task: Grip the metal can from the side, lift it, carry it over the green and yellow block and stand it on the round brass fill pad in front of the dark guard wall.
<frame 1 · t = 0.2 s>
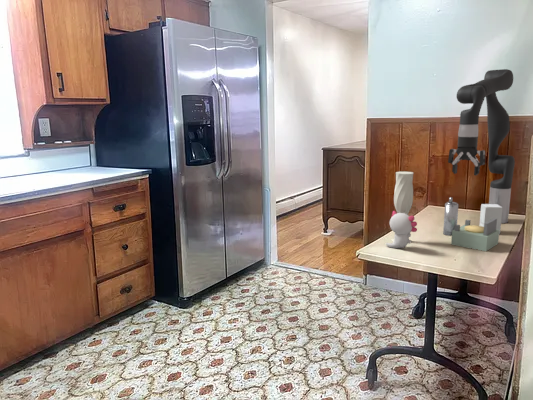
hand: (465, 174, 186), 29 cm above the table, tool pointing down, fingers open, 8 cm apart
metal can: (449, 234, 202), on the table
green and yellow block: (474, 244, 187), on the table
vase: (401, 241, 193), on the table
toy: (400, 248, 183), on the table
supplement box: (489, 232, 204), on the table
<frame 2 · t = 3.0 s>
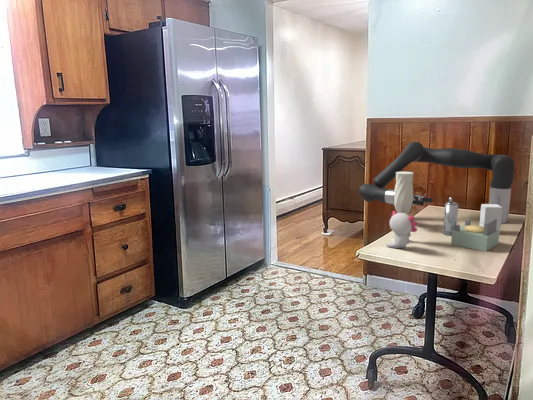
hand: (427, 201, 207), 13 cm above the table, tool horizontal, fingers open, 8 cm apart
nothing on the table moved.
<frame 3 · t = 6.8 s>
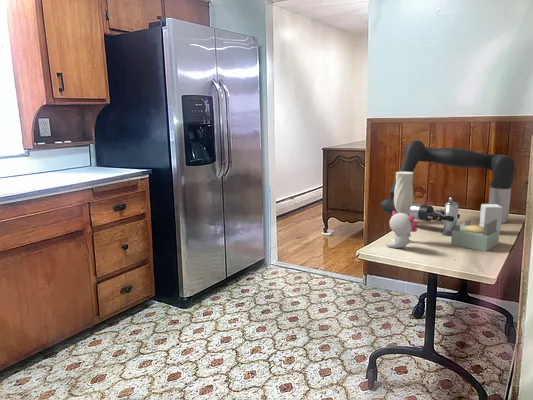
hand: (456, 217, 199), 8 cm above the table, tool horizontal, fingers closed on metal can, 5 cm apart
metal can: (449, 234, 202), on the table, touching gripper
everything else where it was.
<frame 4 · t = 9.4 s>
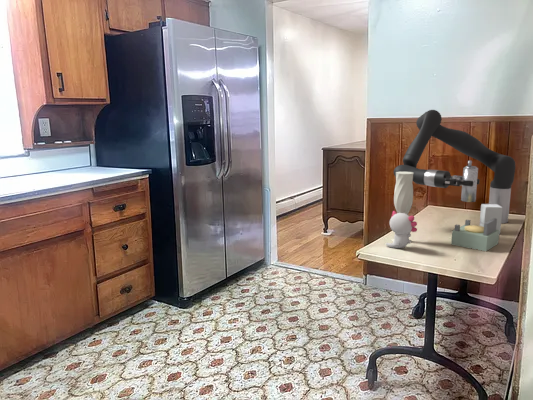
hand: (475, 182, 184), 26 cm above the table, tool horizontal, fingers closed on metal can, 5 cm apart
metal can: (468, 200, 188), point 18 cm above the table, touching gripper
everything else where it was.
when the fingers open (16 cm above the table, at t = 12.1 s): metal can stays where it is, resting on green and yellow block.
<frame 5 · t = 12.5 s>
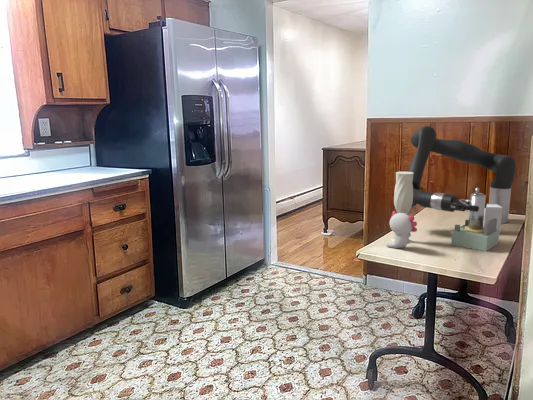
hand: (482, 207, 182), 16 cm above the table, tool horizontal, fingers open, 8 cm apart
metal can: (475, 227, 185), point 7 cm above the table, touching green and yellow block
everything else where it was.
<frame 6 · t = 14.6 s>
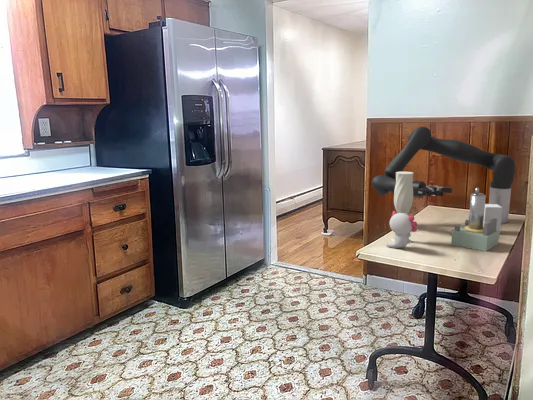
hand: (447, 192, 193), 21 cm above the table, tool horizontal, fingers open, 8 cm apart
nothing on the table moved.
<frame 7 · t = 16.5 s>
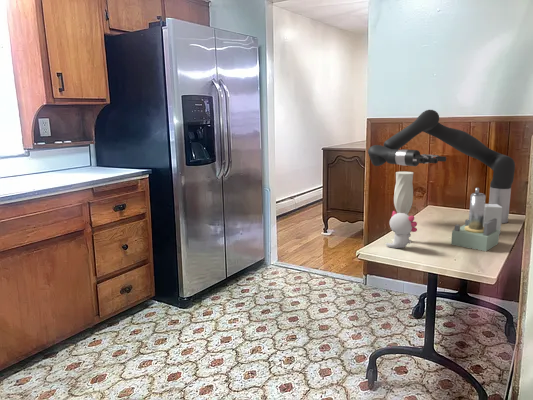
hand: (441, 160, 195), 34 cm above the table, tool horizontal, fingers open, 8 cm apart
nothing on the table moved.
at the end: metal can inside the target area on the green and yellow block (0.2 cm from its centre), point 7.0 cm above the green and yellow block's base; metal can tilted 0°; the gripper is holding nothing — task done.
